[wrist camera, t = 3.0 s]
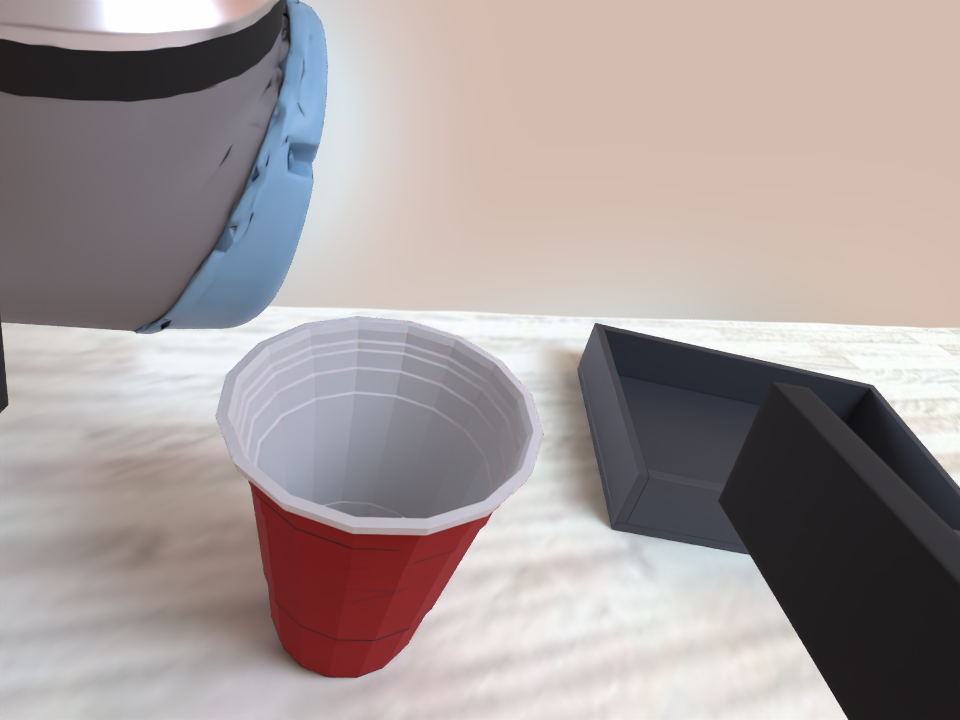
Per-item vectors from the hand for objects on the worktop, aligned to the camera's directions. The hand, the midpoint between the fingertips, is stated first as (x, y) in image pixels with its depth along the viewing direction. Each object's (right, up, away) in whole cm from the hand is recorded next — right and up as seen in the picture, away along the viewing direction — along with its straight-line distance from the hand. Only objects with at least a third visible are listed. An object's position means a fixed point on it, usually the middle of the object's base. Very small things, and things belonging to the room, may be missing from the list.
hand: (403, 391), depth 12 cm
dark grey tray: (+19, -7, +35) cm, 40 cm away
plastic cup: (-5, -11, +18) cm, 21 cm away
